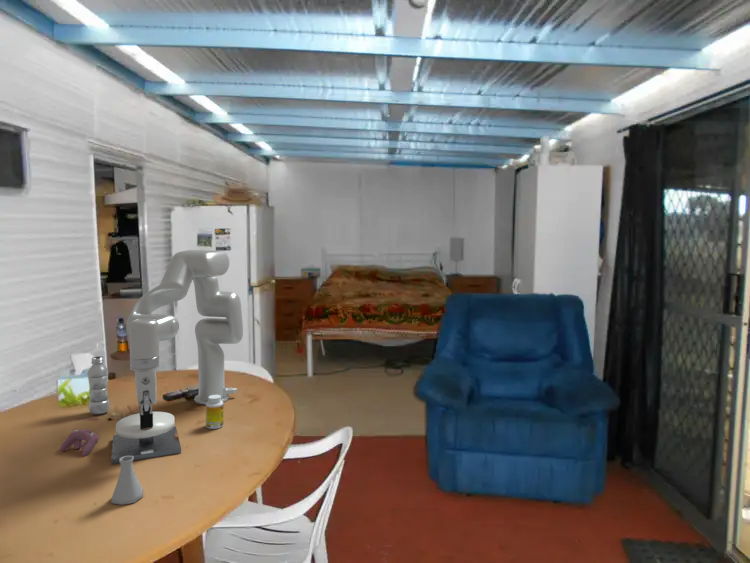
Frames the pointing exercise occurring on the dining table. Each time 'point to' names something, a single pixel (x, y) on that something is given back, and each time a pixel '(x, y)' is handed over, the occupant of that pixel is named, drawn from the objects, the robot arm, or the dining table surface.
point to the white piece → (131, 428)
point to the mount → (146, 446)
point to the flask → (127, 484)
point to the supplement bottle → (214, 412)
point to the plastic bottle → (98, 386)
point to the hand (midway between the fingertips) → (146, 421)
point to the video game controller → (77, 439)
